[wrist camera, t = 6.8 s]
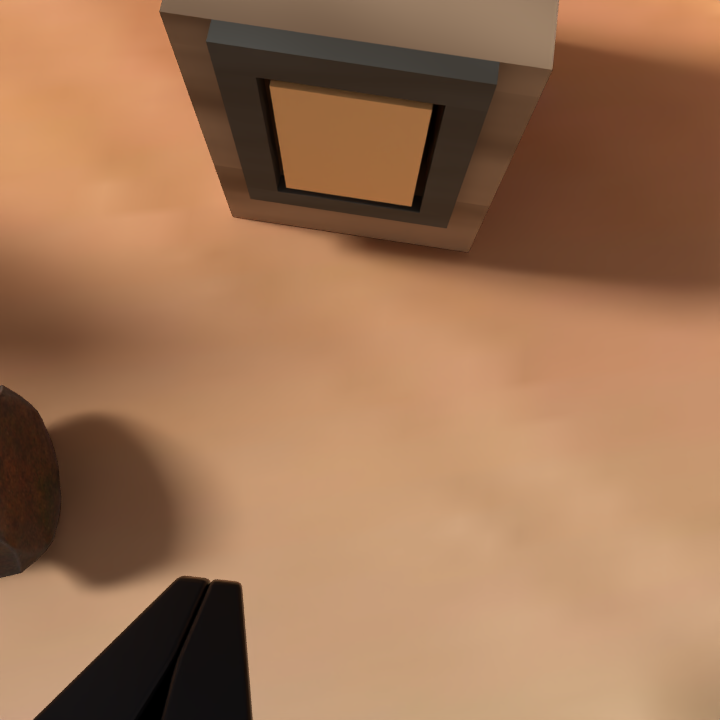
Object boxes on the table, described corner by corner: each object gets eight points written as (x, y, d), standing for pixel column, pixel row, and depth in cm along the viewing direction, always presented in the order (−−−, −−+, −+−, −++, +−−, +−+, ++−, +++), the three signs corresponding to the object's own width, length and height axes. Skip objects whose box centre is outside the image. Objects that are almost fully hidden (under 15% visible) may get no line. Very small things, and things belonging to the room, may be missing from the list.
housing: (466, 267, 25) (550, 92, 15) (229, 230, 25) (153, 33, 15) (495, 29, 27) (582, -256, 17) (280, -2, 27) (244, -304, 17)
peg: (411, 206, 21) (432, 110, 16) (286, 187, 21) (269, 86, 16) (447, -38, 23) (474, -187, 18) (334, -55, 23) (332, -207, 18)
